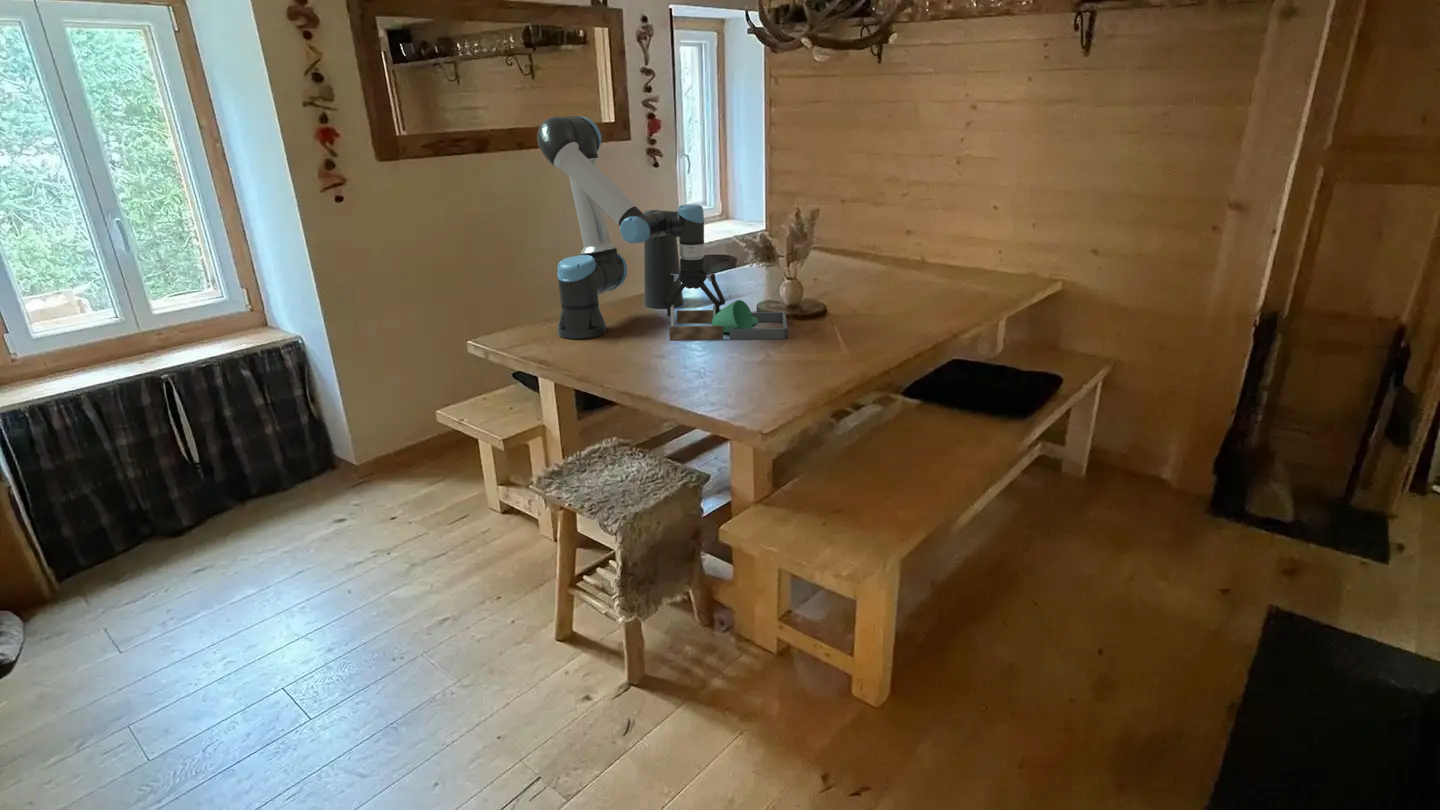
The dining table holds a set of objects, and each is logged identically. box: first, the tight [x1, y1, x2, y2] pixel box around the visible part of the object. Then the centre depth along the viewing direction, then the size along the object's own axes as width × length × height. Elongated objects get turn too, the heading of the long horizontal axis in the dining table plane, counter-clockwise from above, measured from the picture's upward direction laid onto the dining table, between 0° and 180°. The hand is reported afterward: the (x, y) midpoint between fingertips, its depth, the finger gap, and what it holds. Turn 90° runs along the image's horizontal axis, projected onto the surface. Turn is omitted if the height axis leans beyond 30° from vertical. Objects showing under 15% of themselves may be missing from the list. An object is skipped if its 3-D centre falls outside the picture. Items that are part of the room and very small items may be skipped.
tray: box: [729, 311, 788, 341], centre depth 245 cm, size 17×22×3 cm
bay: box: [668, 309, 724, 341], centre depth 246 cm, size 16×22×4 cm
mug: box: [711, 299, 759, 334], centre depth 243 cm, size 15×10×10 cm
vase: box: [643, 236, 684, 310], centre depth 275 cm, size 14×14×29 cm
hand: (693, 326), depth 247 cm, fingers open, 12 cm apart
